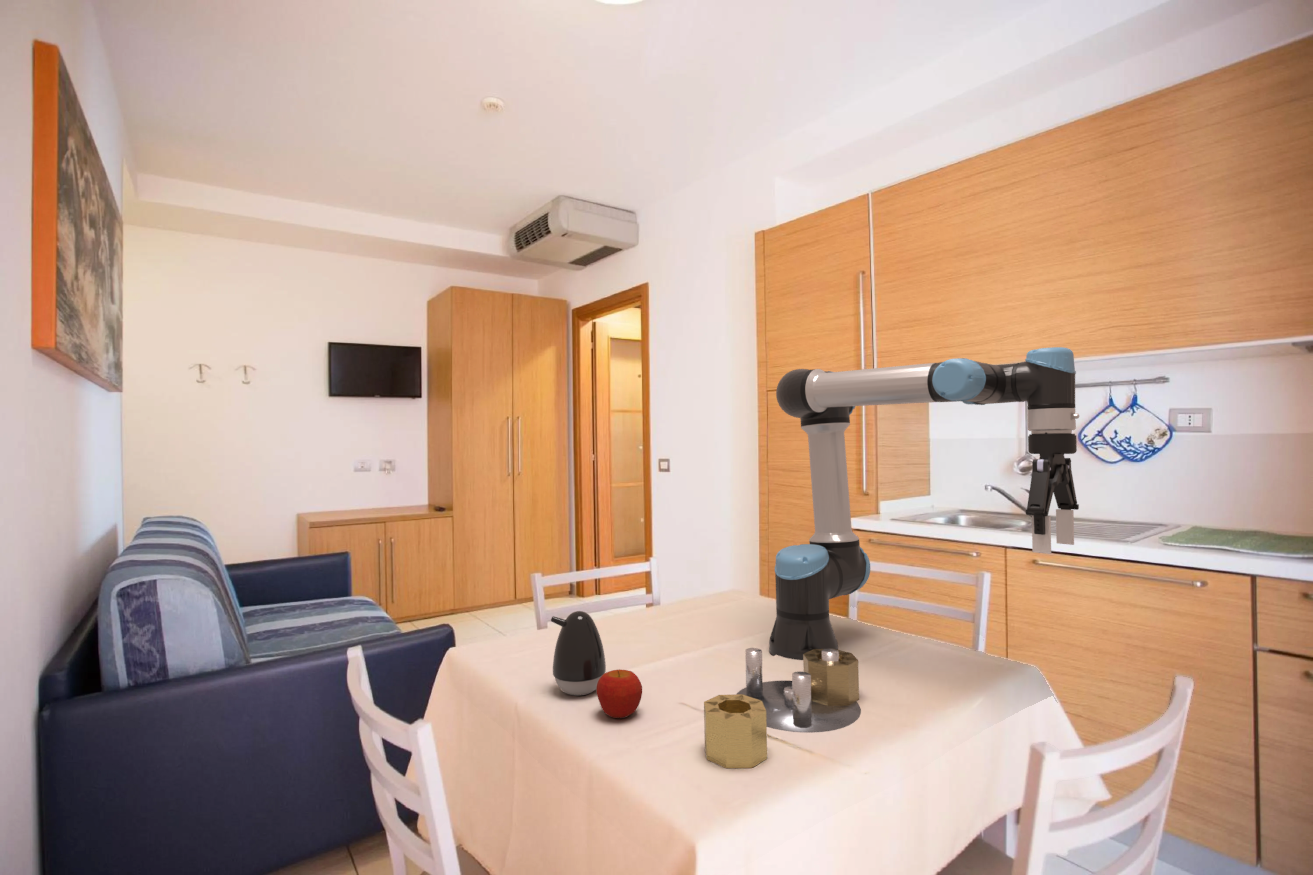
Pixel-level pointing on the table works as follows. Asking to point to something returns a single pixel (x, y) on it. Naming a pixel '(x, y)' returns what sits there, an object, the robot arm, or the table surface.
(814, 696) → the seated gear
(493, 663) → the table surface
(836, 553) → the robot arm
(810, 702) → the carrier
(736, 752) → the gear
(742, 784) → the table surface
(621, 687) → the apple
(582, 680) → the pump dispenser
